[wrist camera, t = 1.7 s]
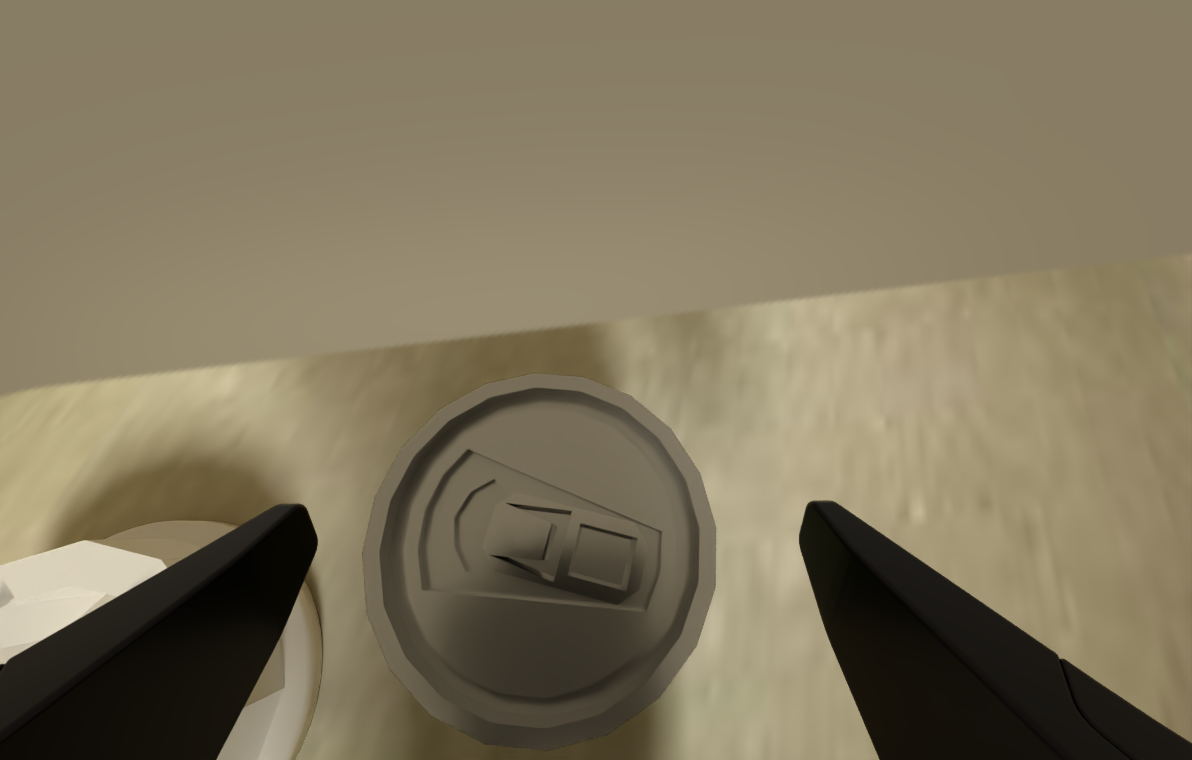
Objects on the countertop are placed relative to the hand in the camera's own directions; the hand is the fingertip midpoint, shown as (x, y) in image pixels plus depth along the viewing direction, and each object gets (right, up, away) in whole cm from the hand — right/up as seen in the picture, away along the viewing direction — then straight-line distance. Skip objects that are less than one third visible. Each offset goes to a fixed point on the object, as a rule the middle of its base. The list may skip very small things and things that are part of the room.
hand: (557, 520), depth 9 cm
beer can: (0, -3, +10) cm, 10 cm away
